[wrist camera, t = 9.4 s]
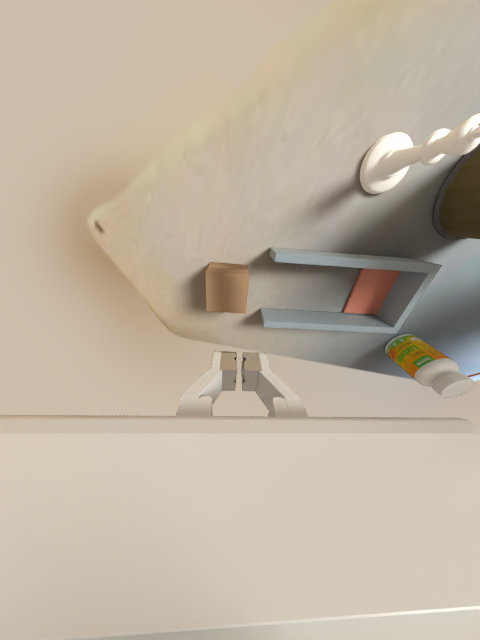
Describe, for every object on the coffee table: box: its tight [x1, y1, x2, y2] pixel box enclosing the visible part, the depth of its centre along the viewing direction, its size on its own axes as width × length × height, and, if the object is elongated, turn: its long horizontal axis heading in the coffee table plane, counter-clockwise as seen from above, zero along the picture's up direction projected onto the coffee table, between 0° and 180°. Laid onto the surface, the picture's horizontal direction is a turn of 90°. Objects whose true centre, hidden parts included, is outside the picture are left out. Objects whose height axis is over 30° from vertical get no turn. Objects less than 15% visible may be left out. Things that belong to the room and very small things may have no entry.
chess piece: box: [360, 114, 480, 194], centre depth 14 cm, size 5×5×10 cm
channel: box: [260, 248, 442, 334], centre depth 24 cm, size 20×10×4 cm, turn 86°
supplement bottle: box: [385, 334, 475, 398], centre depth 27 cm, size 5×5×10 cm
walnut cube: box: [205, 262, 250, 313], centre depth 23 cm, size 5×5×5 cm
